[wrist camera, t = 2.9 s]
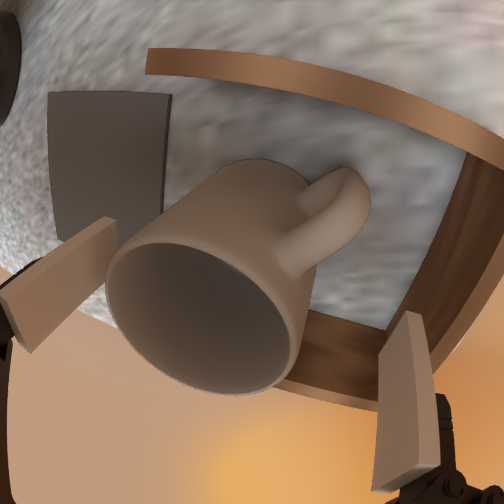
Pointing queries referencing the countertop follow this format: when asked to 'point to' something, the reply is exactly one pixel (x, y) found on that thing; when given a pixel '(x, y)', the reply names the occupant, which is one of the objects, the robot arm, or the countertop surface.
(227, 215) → the mug
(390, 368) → the robot arm
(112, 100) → the mat
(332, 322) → the open-sided wooden frame
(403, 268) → the countertop surface
